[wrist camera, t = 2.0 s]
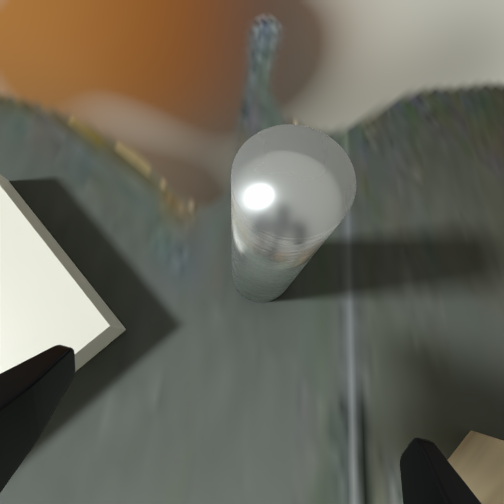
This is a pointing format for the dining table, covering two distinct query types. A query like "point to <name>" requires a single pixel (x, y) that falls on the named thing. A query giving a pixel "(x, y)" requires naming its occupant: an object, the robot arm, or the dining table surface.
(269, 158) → the metal peg
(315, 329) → the dining table surface
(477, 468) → the oak block
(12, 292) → the bore plate
